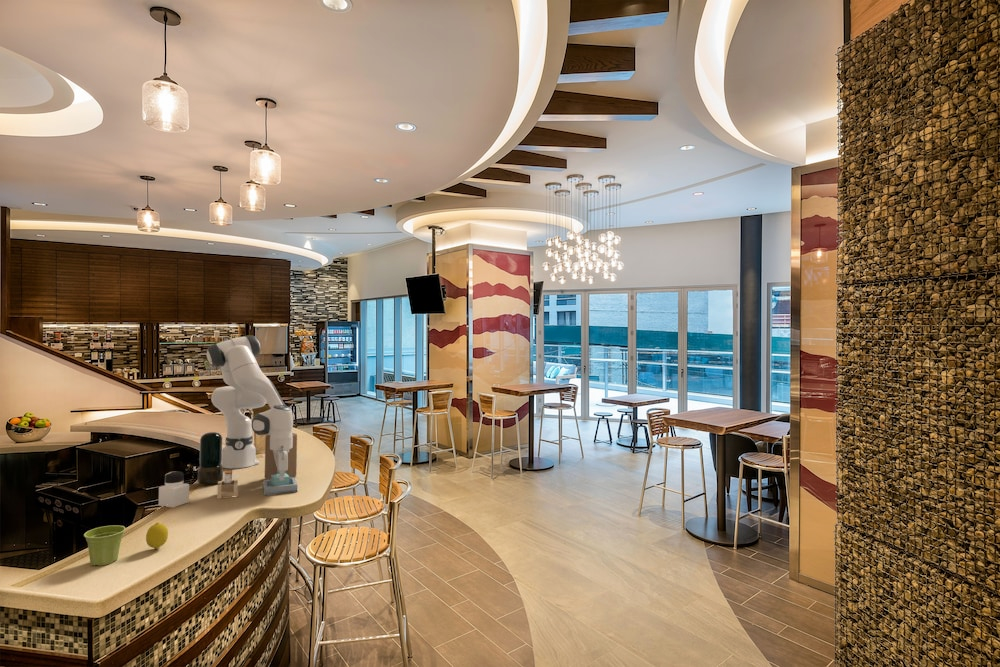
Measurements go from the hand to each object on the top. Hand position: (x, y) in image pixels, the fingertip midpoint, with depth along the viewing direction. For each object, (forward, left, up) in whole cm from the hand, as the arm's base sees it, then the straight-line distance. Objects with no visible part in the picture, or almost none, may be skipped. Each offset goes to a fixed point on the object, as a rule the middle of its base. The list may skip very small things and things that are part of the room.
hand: (280, 477), depth 218 cm
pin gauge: (+1, -20, -5) cm, 20 cm away
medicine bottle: (+5, -38, -5) cm, 38 cm away
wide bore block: (+1, -20, -5) cm, 20 cm away
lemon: (+51, -38, -5) cm, 63 cm away
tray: (+1, 0, -5) cm, 5 cm away
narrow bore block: (0, 0, -4) cm, 4 cm away
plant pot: (+55, -50, -5) cm, 74 cm away
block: (-18, +1, -5) cm, 19 cm away
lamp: (-21, -27, -5) cm, 35 cm away
